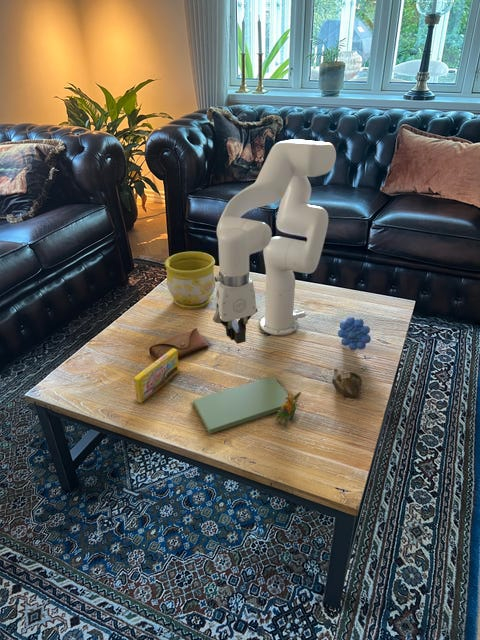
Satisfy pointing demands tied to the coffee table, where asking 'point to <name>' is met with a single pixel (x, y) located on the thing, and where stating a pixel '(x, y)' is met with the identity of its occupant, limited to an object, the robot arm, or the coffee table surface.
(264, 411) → the sage board
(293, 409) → the figurine
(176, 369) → the candy box
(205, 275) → the flowerpot
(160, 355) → the sunglasses case
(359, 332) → the blue flower shape
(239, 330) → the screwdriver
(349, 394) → the fossilized seashell
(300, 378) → the coffee table surface
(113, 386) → the coffee table surface
